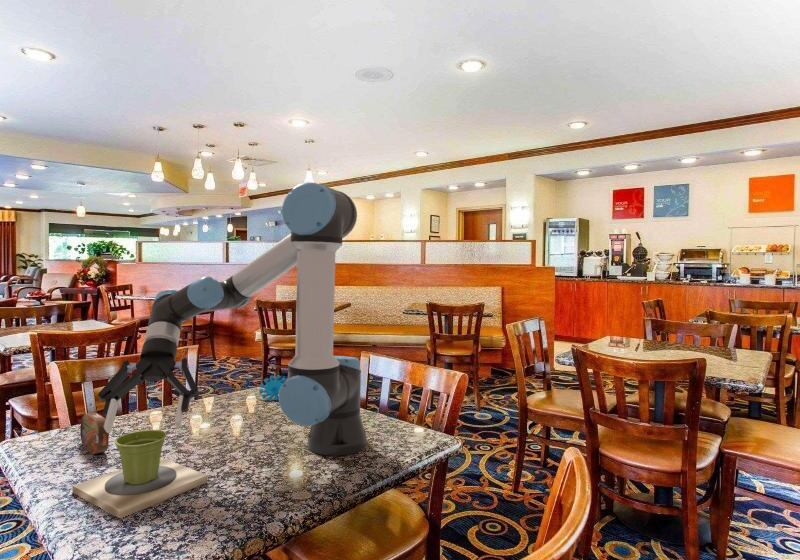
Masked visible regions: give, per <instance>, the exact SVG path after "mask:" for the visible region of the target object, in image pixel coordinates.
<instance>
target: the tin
mask: <svg viewBox="0 0 800 560" xmlns="http://www.w3.org/2000/svg"><path fill="white" fill-rule="evenodd" d="M105 420H106V417H105V416H102V415H101V414H100V413H98V412H89V413H84V414H83V415H82V417H81V419H80V431H79V433H80V441H81V442H80V443H81V445H82V446H83V448H84V449H86V451H88V452H89V453H90V454H91V455H96V454H102V453H105V452H106V451H107V450H108V449H109V440H110V439H109V438H110V433H107V432H106V430H105V429H104V423H105Z"/></svg>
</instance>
